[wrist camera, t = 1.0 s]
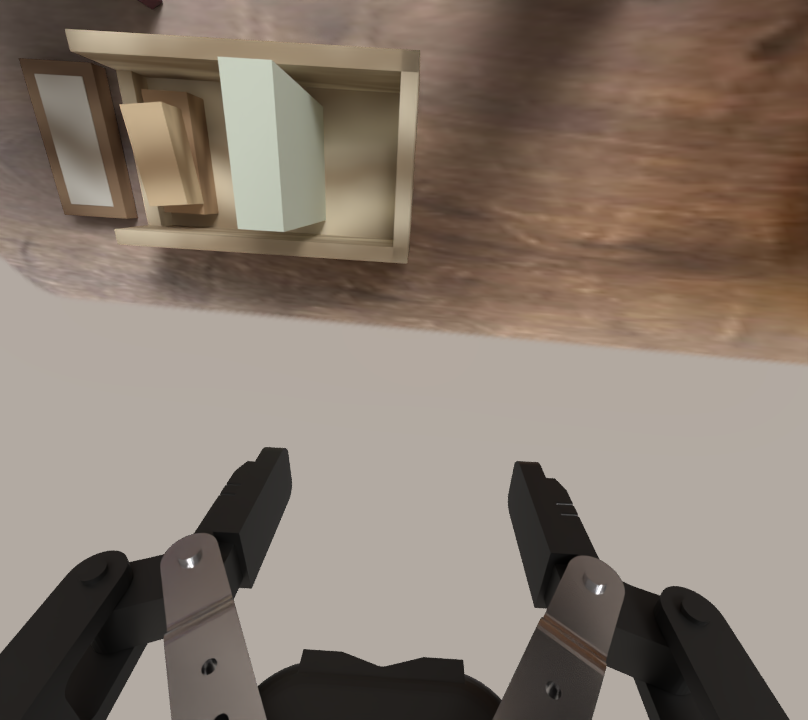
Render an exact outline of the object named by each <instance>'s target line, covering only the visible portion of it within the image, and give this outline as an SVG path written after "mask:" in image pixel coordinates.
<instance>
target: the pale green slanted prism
mask: <svg viewBox="0 0 808 720" xmlns="http://www.w3.org/2000/svg"><path fill="white" fill-rule="evenodd" d="M218 64H219V73H220V81H221V90H222V98H223V107H224V115H225V124H226V132H227V141H228V149H229V158H230V166H231V175H232V183H233V192H234V200H235V209H236V217H237V226H238V229H245V230H260V231H276V232H286V231H289V230H293V229H296V228H300V227H304V226H307V225H311V224H314V223H318V222H322V221H325V220H326V200H325V160H324V121H323V106H322V105H321V104H319V103H318V102H317V101H316V100H315V99H314V98H313V97H312V96H311V95H310V94H309V93H307V92H306V91H305V90H304V89H303V88H302V87H301V86H300V85H299V84H298V83H296V82H295V81H294V80H293V79H292V78H291V77H290V76H289V75H288V74H287V73H286V72H284V71H283V70H282V69H281V68H280V67H279V66H278V65H277V64H276V63H275V62H273V61H272V60H265V59H249V58H233V57H218Z"/></svg>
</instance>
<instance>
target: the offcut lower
mask: <svg viewBox="0 0 808 720" xmlns="http://www.w3.org/2000/svg"><path fill="white" fill-rule="evenodd" d="M141 91H142V97H143V102H144V103H148V102H163V103H166V104H169V105H171V106H174V107H177V108H180V109H181V112H182V116H183V120H184V124H185V129H186V133H187V137H188V141H189V145H190V149H191V153H192V157H193V161H194V165H195V169H196V174H197V178H198V182H199V186H200V190H201V194H202V198H203V202H204V204H189V205H169V206H164V212H173V213H189V214H204V215H205V214H216V213H219V211H218V204H217V197H216V189H215V182H214V174H213V167H212V160H211V152H210V145H209V138H208V130H207V123H206V115H205V108H204V101H203V99H201V98H199V97H197V96H195V95H192V94H190V93H188V92H180V91H163V90H147V89H141Z"/></svg>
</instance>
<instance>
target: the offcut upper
mask: <svg viewBox="0 0 808 720" xmlns="http://www.w3.org/2000/svg"><path fill="white" fill-rule="evenodd" d="M119 105H120V109H121V112H122V115H123V119H124V122H125V125H126V129H127V132H128V135H129V139H130V142H131V145H132V149H133V152H134V155H135V159H136V162H137V165H138V169H139V172H140V175H141V179H142V182H143V185H144V189H145V192H146V195H147V199H148V202H149V205H150V206H169V205H189V204H204V202H203V198H202V194H201V190H200V186H199V182H198V178H197V174H196V169H195V165H194V161H193V157H192V153H191V149H190V145H189V141H188V137H187V133H186V129H185V124H184V120H183V116H182V112H181V109H180V108H177V107H174V106H171V105H169V104H166V103H163V102H148V103H133V104H119Z"/></svg>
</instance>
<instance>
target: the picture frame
mask: <svg viewBox="0 0 808 720" xmlns="http://www.w3.org/2000/svg"><path fill="white" fill-rule="evenodd" d="M138 1H140V2H141V3H143V4H145V5H146V6H148V7H149V8H151V9H154V8H155V7H157V6H158V5H160V4H161V3H162V0H138Z"/></svg>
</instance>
